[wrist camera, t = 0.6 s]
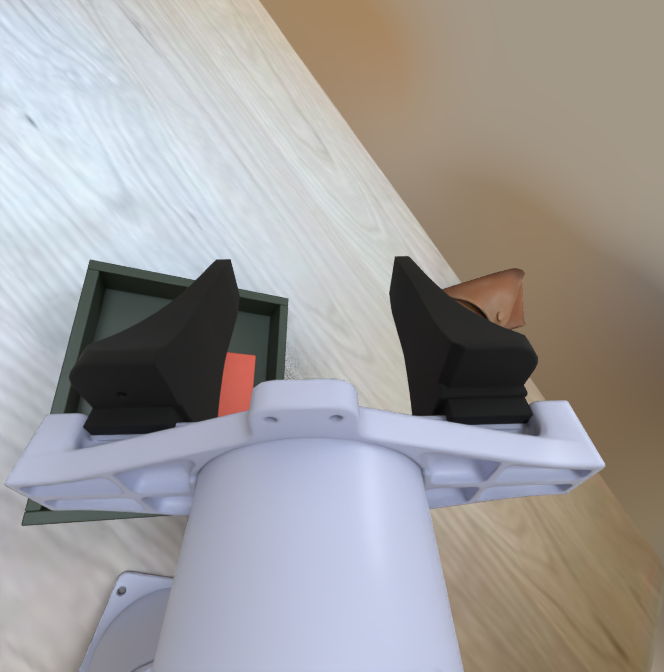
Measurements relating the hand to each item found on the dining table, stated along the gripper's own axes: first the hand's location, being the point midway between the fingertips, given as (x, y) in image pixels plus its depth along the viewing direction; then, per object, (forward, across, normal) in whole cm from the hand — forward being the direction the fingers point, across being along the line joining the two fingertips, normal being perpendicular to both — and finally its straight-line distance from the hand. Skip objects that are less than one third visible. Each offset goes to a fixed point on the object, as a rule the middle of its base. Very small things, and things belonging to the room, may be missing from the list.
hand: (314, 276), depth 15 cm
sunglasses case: (+20, -20, +22) cm, 36 cm away
